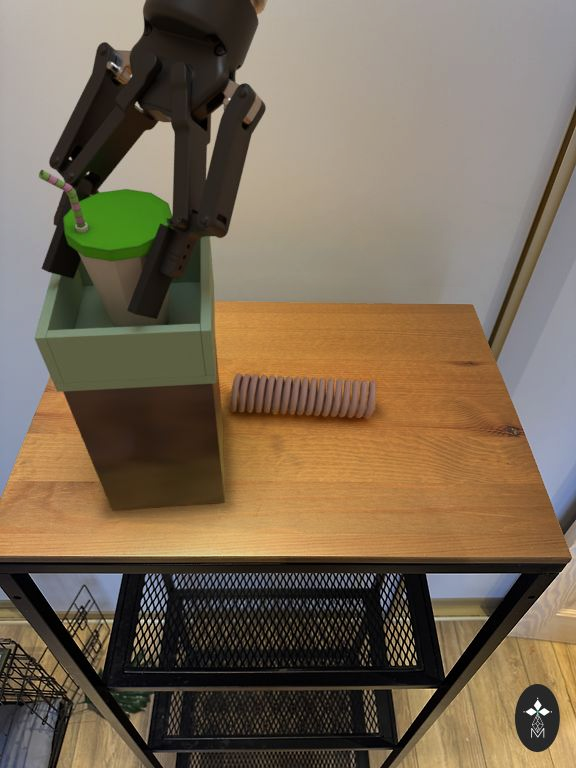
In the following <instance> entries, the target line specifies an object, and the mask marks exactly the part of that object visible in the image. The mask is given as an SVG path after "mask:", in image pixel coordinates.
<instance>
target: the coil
mask: <svg viewBox="0 0 576 768" xmlns="http://www.w3.org/2000/svg"><path fill="white" fill-rule="evenodd" d="M376 398H377V382H376V380H374V379H371V380H370V381H369V382H368V380H366V379H362V380H361V382H360V381H359V379H357V378H356V379H353V380H352V381H351V379H349V378H346V379H344V383H343V379H342V378H337V379H336V380H335V379H334V378H333V377H330V378H328V379H327V380H326V377H325V378H324V377H320V378H319V381H318V378H317V377H315V376H313V377H311V379H310V378H309V377H308V376H304V377H303V378H301V376H298V375H296V376H295V377H294V378H293V377H292V376H291V375H287V376H286V377H285V376H283V375H278V377H276V376H275V375H274V374H270V375H269V376H268V375H266V374H262V375H259V374H258V373H257V374H256V373H254V374H253V375H252V376H251V374H250V373H245V374H244V375H243V374H242V373H241V372H240V373H236V374H235V376H234V378H233V381H232V386H231V393H230V401H229V402H230V404H229V405H230V406H229V409H230V411H231V412H233V413H234V412H236V411H237V407H238V411H239V412H240V413H243V412H245V411H247V412H248V413H252V412H253V411H255V413H257V414H260V413H261V412H262V411H263V413H264V414H269V413H270V412H272V414H274V415H276V414H278V413H279V412H280V414H281V415H286V414H287V413H288V414H289V415H292V416H293V415H295V413H296V414H297V415H298V416H302V415H304V414H305V415H306V416H307V417H308V416H311V415H312V414H313V416H316V417H319V416H320V415H322V416H323V417H328V416H329V415H330V417H331V418H335V417H337V416H338V417H339V418H344V417H347V418H353V417H355V418H357V419H361V418H362V417H363V418H364V419H366V420H367V419H370V418H371V417H372V416H373V414H374V413H376V412H377V411H376V409H377V408H376Z"/></svg>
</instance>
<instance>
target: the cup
mask: <svg viewBox="0 0 576 768" xmlns="http://www.w3.org/2000/svg"><path fill="white" fill-rule="evenodd" d="M38 178H39V179H40V180H43V181H45V182H47V183H48V184H50V185H52V186H54V187H56V188H58V189H59V190H62V191H65V192H66V193H67V195H68V196H69V199H70V203H71V206H72V208H71V210H70V211H69V212H68V213H67V214H66V215H65V216H64V218H63V220H64V231H65V236H66V239H67V242H68V245H70V246H71V247H72V248H74V249H75V250H76V251H78V253H79V255H80V257H81V259H82V261H83V263H84V265H85V268H86V270H87V272H88V274H89V276H90V278H91V280H92V282H93V284H94V286H95V288H96V290H97V292H98V295H99V297H100V299H101V301H102V303H103V305H104V307H105V309H106V311H107V313H108V315H109V317H110V319H111V322H112V324H113V326H114V327H134V326H157V325H167V324H168V322H169V289H168V292H167V294H166V297H165V299H164V302H163V305H162V307H161V310H160V312H159V315H158V317H157V319H154V318H150V317H145V316H140V315H136V314H133V313H131V312H129V311H127V309H128V307H129V304H130V301H131V299H132V296H133V293H134V291H135V288H136V286H137V283H138V280H139V278H140V275H141V272H142V270H143V267H144V265H145V262H146V259H147V257H148V254H149V251H150V249H151V246H152V244H153V241H154V238H155V236H156V233H157V230H158V228H159V225H160V223H161V224H163V225H165V226H168V227H170V228H172V229H174V227H172V226H170V225H169V224H168V223H167V220H166V218H168V219H170V218H172V214H173V212H172V211H171V208H170V204H169V202H168V201H165V200H164V199H162V198H161V197H159V196H158V195H156V194H154V193H152V192H149V191H143V190H136V189H129V188H123V189H115V190H108V191H107V190H106V191H99V193H97V194H95V195H93V196H90V197H88V198H86V199H84V200H81V201H79V200H78V197H77V194H76V191H75V190H74V188H73V187H72V186H71V185H69V184H67V183H65V181H64V180H62V179H60V178H59V177H57V176H54V175H53V174H51V173H49V172H47V171H46V170H44V169H41V170H40V171H39V172H38Z"/></svg>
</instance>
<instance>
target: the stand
mask: <svg viewBox="0 0 576 768" xmlns="http://www.w3.org/2000/svg"><path fill="white" fill-rule="evenodd" d="M216 342H217V339H216V338H215V351H216V383H212V384H194V385H175V386H156V387H138V388H119V389H100V390H82V391H63V392H62V393H63V395H64V397H65V400H66V402H67V404H68V407H69V410H70V412H71V414H72V418H73V420H74V422H75V425H76V427H77V429H78V432H79V434H80V437H81V440H82V441H83V444H84V446H85V449H86V451H87V453H88V457H89V458H90V461H91V463H92V465H93V468H94V471H95V473H96V475H97V478H98V481H99V483H100V485H101V488H102V490H103V493H104V495H105V498H106V501H107V502H108V504H109V507H110V509H111V511H124V510H125V511H126V510H137V509H139V510H140V509H150V508H154V509H155V508H165V507H166V508H167V507H168V508H169V507H182V506H194V505H195V506H196V505H210V504H221V503H223V504H224V503H226V498H225V497H226V491H225V490H226V489H225V461H224V459H225V458H224V427H223V425H224V423H223V408H222V407H223V406H222V398H221V397H222V395H221V385H220V384H221V383H220V374H219V365H218V364H219V363H218V362H219V361H218V352H217V351H218V350H217V343H216Z"/></svg>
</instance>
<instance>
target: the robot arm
mask: <svg viewBox="0 0 576 768" xmlns="http://www.w3.org/2000/svg"><path fill="white" fill-rule="evenodd" d="M267 2H268V0H145V1H144V4H143V8H142V17H143V32H142V35H141V36H140V38H139V39H138V41H137V42H136V43H135V44H134V45H133V46H132V48H131V49H130V50H123V49H122V50H120V49H115V48H114V47H112V45H111V44H109V43H108V42H106V41H103V42H101V43H99V44H98V46H97V48H96V52H95V57H94V61H93V66H92V71H91V74H90V77H89V78H88V79H87V82H86V84H85V86H84V89H83V90H82V92H81V95H80V97H79V99H78V100H77V103H76V105H75V107H74V109H73V111H72V113H71V114H70V117H69V119H68V121H67V122H66V125H65V127H64V129H63V131H62V133H61V135H60V136H59V139H58V141H57V143H56V145H55V147H54V148H53V150H52V153H51V155H50V157H49V161H48V164H49V167H50V168H51V169H52V170H55V171H56V172H57V173H58V174H59V175H60V176H61V177H62V178H63V181H64V182H65V183H67V184H69V185H71V186H72V187H73V188H74V190H75V191H76V194H77V197H78V200H79V201H81V200H84V199H86V198H88V197H90V196H93V195H95V194H97V193H99V192H100V191H99V189H100V188H101V186H103V184H104V183H105V182H106V180H107V179H108V178H109V176H110V175H111V174H112V173H113V171H114V170H115V169H116V168H117V166H118V165H119V164H120V163H121V162H122V160H123V159H124V158H125V156H126V155H127V154H128V153H129V151H130V150H131V149H132V148H133V147H134V146H135V144H136V143H137V141H139V139H140V138H141V137H142V135H144V133H145V132H146V131H151V130H153V129H154V128H155V127H156V125H157V124H158V123H159V122H161V123H170V124H171V128H172V130H173V132H174V143H173V144H174V145H173V147H174V148H173V149H174V150H173V181H172V182H173V185H172V218H170V219H168V218H166V220H167V223H168V224H169V225H170V226H172V227H174V229H172V228H170V227H168V226H165V225H163V224H161V223H160V225H159V228H158V230H157V233H156V236H155V238H154V241H153V244H152V246H151V249H150V251H149V254H148V257H147V259H146V262H145V265H144V267H143V270H142V272H141V275H140V278H139V280H138V283H137V286H136V288H135V291H134V293H133V296H132V299H131V301H130V304H129V307H128V309H127V311H129V312H131V313H133V314H136V315H140V316H145V317H150V318H154V319H157V317H158V315H159V312H160V310H161V307H162V305H163V302H164V299H165V297H166V294H167V292H168V289H169V287H170V284H171V281H172V279H173V278H175V279H178V280H179V279H180V278H181V277H182V276H183V275H184V272H185V270H186V266H187V265H188V261H189V260H190V257H191V254H192V252H193V249H194V247H195V244H196V242H197V241H198V240H199V239H200V238H202V237H205V236H210V237H216V238H218V239H222V238H225V237H226V236H227V235H228V233H229V230H230V225H231V221H232V217H233V213H234V209H235V204H236V200H237V196H238V193H239V188H240V183H241V180H242V176H243V172H244V168H245V164H246V159H247V156H248V151H249V147H250V144H251V143H250V142H251V138H252V135H253V133H254V131H255V130H256V128H257V127H258V124H259V123H260V121H261V119H262V118H263V116H264V114H265V113H266V107H267V105H266V103H265V102H264V101H263V100H262V98H261V97H260V96H259V95H258V94H257V93H256V91H255V89H253V87H252V86H251V85H250V84H249V83H246V82H245V83H241V84H239V83H237V81H236V73H237V71H238V70H239V69H241V68H242V67H243V65H244V63H245V60H246V58H247V56H248V53H249V51H250V48H251V46H252V42H253V40H254V37H255V35H256V32H257V30H258V26H259V17H258V15H260V14H261V13H262V12H263V11H264V10H265V8H266V5H267ZM136 104H138V106H137V105H136ZM222 105H223V112H222V115H221V118H220V121H219V124H218V127H217V133H216V137H215V141H214V145H213V149H212V154H211V158H210V162H209V166H208V171H207V157H208V145H210V143H211V140H212V139H211V135H212V134H211V133H212V114H213V113H214V112H215V111H216V110H218V109H219V108H220V107H222ZM71 208H72V206H71V203H70V199H69V196H68V195H67V193H66V192H65V191H64V190H62V194H61V196H60V199H59V201H58V206H57V208H56V211H55V213H54V216H53V226H55V229H54V232H53V235H52V239H51V240H50V244H49V246H48V249H47V252H46V255H45V258H44V260H43V264H42V266H41V270H44V271H46V272H47V273H50V274H52V273H54V274H57V275H61V276H65V277H69V278H72V279H74V277H75V274H76V271H77V269H78V266H79V263H80V260H81V257H80V255H79V253H78V251H76V250H75V249H74V248H72V247H71V246H70V245H68V242H67V239H66V236H65V231H64V220H63V218H64V216H65V215H66V214H67V213H68V212H69V211H70V210H71Z"/></svg>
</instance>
